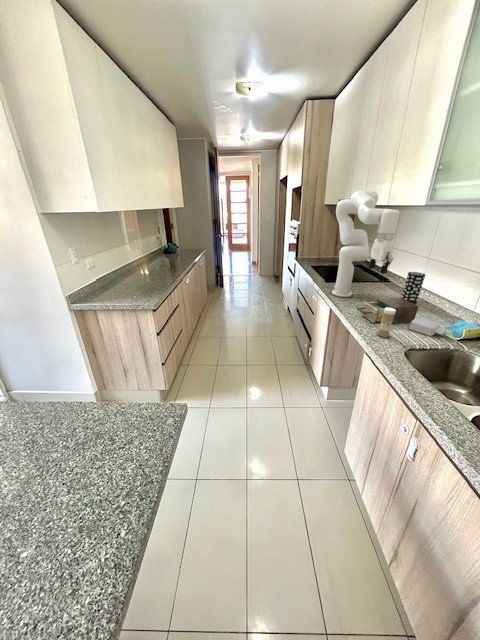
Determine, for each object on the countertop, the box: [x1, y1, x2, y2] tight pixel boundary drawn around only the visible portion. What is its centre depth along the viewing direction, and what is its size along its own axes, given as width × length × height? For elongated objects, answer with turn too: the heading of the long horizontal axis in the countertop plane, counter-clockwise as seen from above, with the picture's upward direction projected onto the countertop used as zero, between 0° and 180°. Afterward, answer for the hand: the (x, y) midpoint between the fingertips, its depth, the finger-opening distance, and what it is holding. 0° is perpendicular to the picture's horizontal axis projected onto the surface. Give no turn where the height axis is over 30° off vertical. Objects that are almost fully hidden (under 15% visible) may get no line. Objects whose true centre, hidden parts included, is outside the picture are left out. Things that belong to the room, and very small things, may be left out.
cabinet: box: [376, 297, 419, 325], centre depth 138 cm, size 15×13×9 cm
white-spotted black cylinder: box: [400, 271, 426, 305], centre depth 151 cm, size 8×8×20 cm
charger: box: [409, 316, 451, 337], centre depth 124 cm, size 5×9×15 cm
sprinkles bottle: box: [377, 307, 396, 338], centre depth 119 cm, size 5×5×14 cm
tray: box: [356, 301, 390, 324], centre depth 136 cm, size 18×11×7 cm, turn 99°
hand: (377, 270), depth 135 cm, fingers open, 9 cm apart
